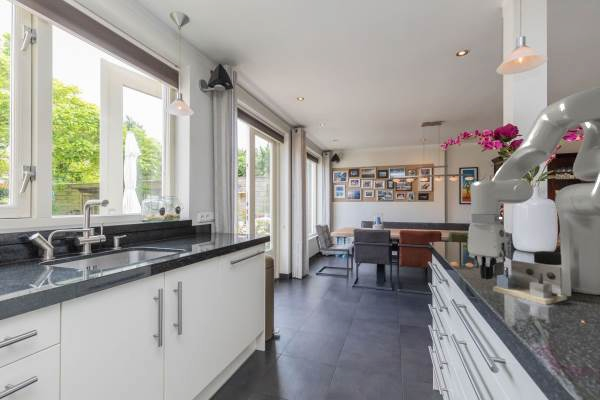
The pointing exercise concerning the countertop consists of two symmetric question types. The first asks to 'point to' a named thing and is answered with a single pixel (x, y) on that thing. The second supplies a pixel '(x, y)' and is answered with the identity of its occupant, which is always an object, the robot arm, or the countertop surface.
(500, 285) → the sliding pin
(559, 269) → the board
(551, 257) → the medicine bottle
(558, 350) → the countertop surface
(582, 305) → the countertop surface
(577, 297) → the countertop surface
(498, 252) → the robot arm
